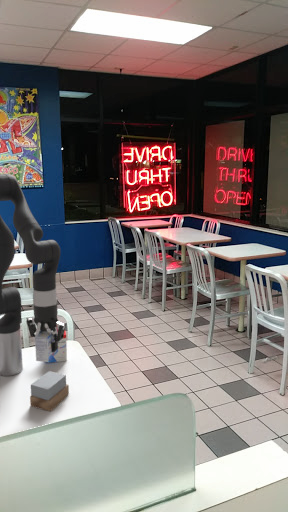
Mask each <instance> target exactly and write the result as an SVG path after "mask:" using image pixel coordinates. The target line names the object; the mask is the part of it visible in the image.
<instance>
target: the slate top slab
mask: <svg viewBox="0 0 288 512" xmlns="http://www.w3.org/2000/svg"><path fill="white" fill-rule="evenodd" d="M66 384H67V376H66V374H62V373H59V372H54V371H51V370H49V371H47V372H46V373H45V374H43V375H41V377H39V378H38V379H36V380H35V381H34V382H32V383H31V384H30V396H35V397H38V398H41V399H45V400H50V399H51V398H52V397H53V396H55V395H56V394H57V393H58V392H59V391H61V390H62V389H63V388H64V387H65V386H66Z"/></svg>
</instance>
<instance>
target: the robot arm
mask: <svg viewBox="0 0 288 512" xmlns="http://www.w3.org/2000/svg"><path fill="white" fill-rule="evenodd" d="M4 201H11V203H13V205H14V212H13V214H12V215H13V216H12V222H13V226H14V229H15V230H16V232H17V234H18V235H19V237H20V238H21V241H22V244H23V248H24V254H25V257H26V259H27V261H28V262H29V263H31V264H32V265H42V264H43V266H42V267H41V268H39V269H37V270H35V271H34V272H33V273H32V283H33V284H32V285H33V287H32V289H33V291H32V293H33V294H32V300H33V301H32V302H33V305H32V306H33V317H30V318H28V319H26V325H27V328H28V332H29V336H30V337H31V338H35V337H36V336H37V335H38V334H39V333H41V332H42V331H45V332H48V335H49V336H51V341H52V342H51V351H52V352H55V351H56V350H57V349H58V342H59V341H60V340H61V339H63V337H64V332H65V331H66V327H67V323H66V322H63V323H62V322H60V321H59V319H58V293H57V281H56V275H57V271H58V266H59V263H60V259H61V247H60V245H59V243H58V242H57V241H56V240H54V239H48V240H41V239H42V238H43V236H44V231H43V229H42V228H41V225H40V224H39V223H38V221H37V220H36V218H35V217H34V215H33V213H32V211H31V209H30V207H29V204H28V203H27V199H26V196H25V195H24V193H23V189H22V188H21V185H20V183H19V181H18V179H17V178H16V177H15V176H14V174H13V175H12V174H10V173H0V202H4ZM15 252H16V251H15V236H14V234H13V232H12V231H11V229H10V228H9V226H8V225H7V224H6V222H5V221H4V219H3V218H2V215H0V316H1V315H2V317H1V318H0V375H1V376H5V377H7V376H8V377H9V376H10V377H11V376H15V375H17V374H19V373H21V372H22V371H23V369H24V368H23V367H24V366H23V349H22V333H21V332H22V331H21V323H22V298H21V297H22V296H21V294H20V291H19V290H18V289H17V288H16V287H15V286H9V287H6V288H5V287H4V288H3V283H4V278H5V276H6V274H7V272H8V270H9V269H10V267H11V264H13V263H12V262H13V261H14V258H15ZM56 326H58V327H56ZM56 328H57V329H58V334H57V329H56Z"/></svg>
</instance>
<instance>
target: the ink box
mask: <svg viewBox="0 0 288 512" xmlns="http://www.w3.org/2000/svg"><path fill="white" fill-rule="evenodd" d="M57 328H58V326H56V329H57ZM57 334H58V329H57ZM67 347H68V345H67V332H66V330H65V332H64V337H63V339H61V340H60V341H59V342H58V352H57V353H56V354H55V355H54V357H53V358H52V359H51V360H50V361H49V362H45V363H46V364H47V363H49V364H50V363H57V362H58V363H59V362H65V361H66V362H67V361H68V360H67V359H68V356H67V355H68V353H67V350H68V349H67Z"/></svg>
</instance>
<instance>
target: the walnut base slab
mask: <svg viewBox="0 0 288 512" xmlns="http://www.w3.org/2000/svg"><path fill="white" fill-rule="evenodd" d="M69 386H70V385H69V384H67V383H66V386H65V387H64V388H63V389H62V390H61V391H59V392H58V393H57V394H56V395H55V396H53V397H52V398H51V399H50V400H45V399H41V398H38V397H35V396H31V395H29V399H30V407H33V408H37V409H41V410H45V411H48V412H53V410H54V409H55V408H56V407H57V406H59V404H60V403H61V402H62V401H63V400H64V399H65V398H66V397H67V396H68V395H69V394H70V393H69V391H70V390H69Z"/></svg>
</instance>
